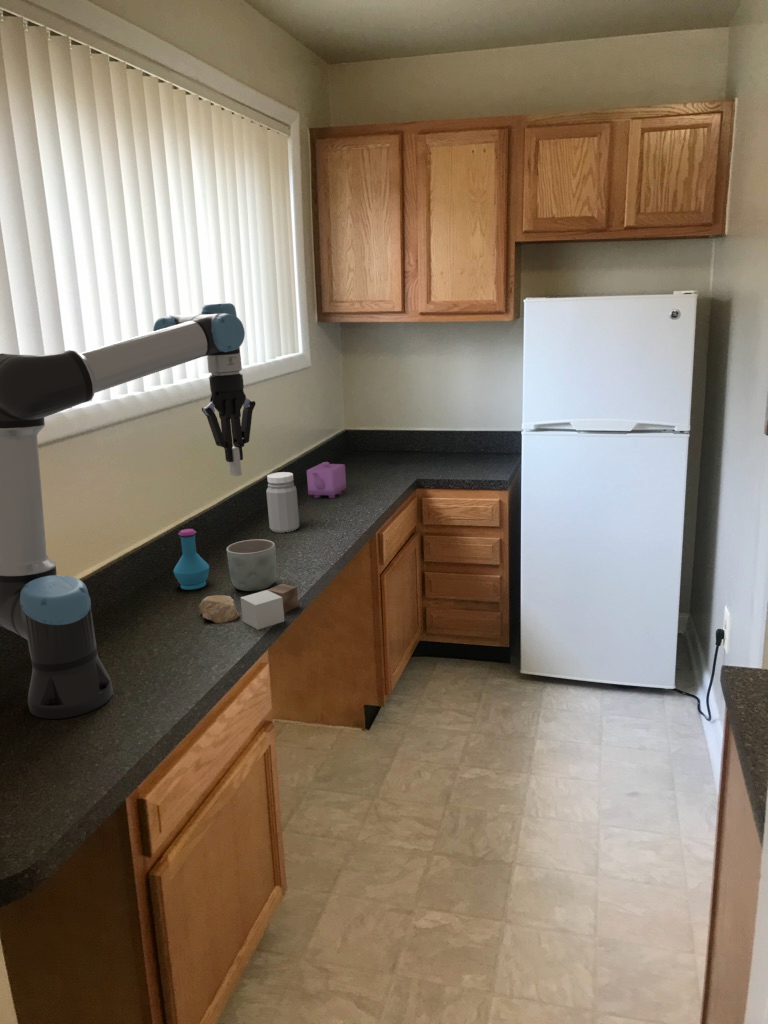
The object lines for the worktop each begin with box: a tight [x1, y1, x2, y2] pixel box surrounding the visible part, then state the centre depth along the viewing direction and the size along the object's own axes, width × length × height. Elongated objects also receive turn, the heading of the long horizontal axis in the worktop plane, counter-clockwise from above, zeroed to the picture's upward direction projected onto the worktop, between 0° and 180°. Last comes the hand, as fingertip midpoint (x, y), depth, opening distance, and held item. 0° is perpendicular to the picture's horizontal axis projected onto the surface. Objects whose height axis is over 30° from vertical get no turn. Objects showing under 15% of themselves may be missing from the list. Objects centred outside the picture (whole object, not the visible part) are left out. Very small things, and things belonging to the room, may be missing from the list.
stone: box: [198, 594, 240, 625], centre depth 199 cm, size 8×10×4 cm
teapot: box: [306, 461, 347, 499], centre depth 310 cm, size 20×10×12 cm, turn 159°
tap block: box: [240, 589, 285, 630], centre depth 194 cm, size 7×7×6 cm
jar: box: [265, 471, 300, 534], centre depth 268 cm, size 10×10×18 cm
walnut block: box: [267, 583, 299, 614], centre depth 201 cm, size 5×5×5 cm
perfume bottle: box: [173, 528, 210, 591], centre depth 220 cm, size 9×9×15 cm
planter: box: [226, 538, 277, 592], centre depth 217 cm, size 12×12×11 cm
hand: (236, 474), depth 197 cm, fingers closed
